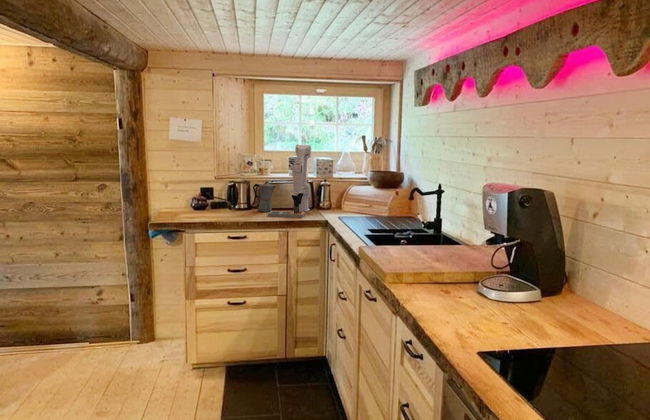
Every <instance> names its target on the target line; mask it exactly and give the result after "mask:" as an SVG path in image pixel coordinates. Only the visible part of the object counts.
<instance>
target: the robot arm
mask: <svg viewBox="0 0 650 420" xmlns="http://www.w3.org/2000/svg"><path fill="white" fill-rule="evenodd" d="M295 155H296V158H295V160H294V164H293V165H292V168H291V171H292V179H293V181H292V182H293V185H292V190H291V192H290V193H293V194H292V195H291V198H292V200H293V207H294V206H295V207H298V205H299V204H300V212H305V213H306V212H307V213H308V212H309V211H310V208H309V198H310V197H311V186H310V185H309V183H307V176H308V175H307V174H308V173H307V171H308V160H309V159H310V158H311V156H312V145H311V144H298V143H297V144H295Z"/></svg>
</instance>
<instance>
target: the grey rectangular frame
mask: <svg viewBox="0 0 650 420" xmlns="http://www.w3.org/2000/svg"><path fill="white" fill-rule="evenodd" d="M267 217H274V218H275V217H277V218H295V217H303V218H304V217H306V212H301V211H300V214H296V213H294V211H276V210H272V211H271V212H267Z"/></svg>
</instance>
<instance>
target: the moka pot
mask: <svg viewBox="0 0 650 420" xmlns="http://www.w3.org/2000/svg"><path fill="white" fill-rule="evenodd" d="M257 187H258V188H259V189H258V190H259V196H258V195H257V191H256V188H257ZM275 188H277V187H276V185H274V184H270V183H268V181H267V180H266V181H265V183H263V184H262V183H255V184H253V187H252V189H253V192H254V196H255V198H257V199H259V205H258V208H257V209H258V211H259V212H263V213H269V212H271V211H273V209H272V197H273V193H274V191H275Z"/></svg>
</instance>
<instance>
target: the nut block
mask: <svg viewBox="0 0 650 420" xmlns="http://www.w3.org/2000/svg"><path fill="white" fill-rule="evenodd" d="M293 212H294V213H296V214H300V212H301V211H300V204H299V205H298V207H295V206H294V205H293Z"/></svg>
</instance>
